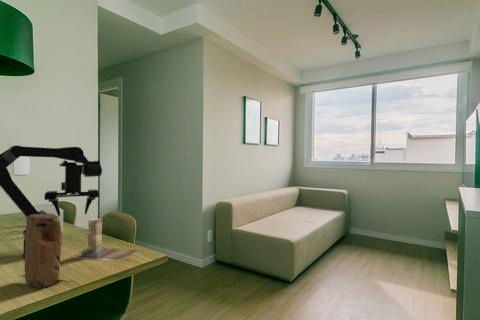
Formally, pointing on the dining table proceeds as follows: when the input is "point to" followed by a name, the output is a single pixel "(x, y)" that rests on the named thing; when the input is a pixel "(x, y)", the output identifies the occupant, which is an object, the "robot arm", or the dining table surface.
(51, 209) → the storage container
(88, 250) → the wooden post with base
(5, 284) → the dining table surface
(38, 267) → the block
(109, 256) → the plank
